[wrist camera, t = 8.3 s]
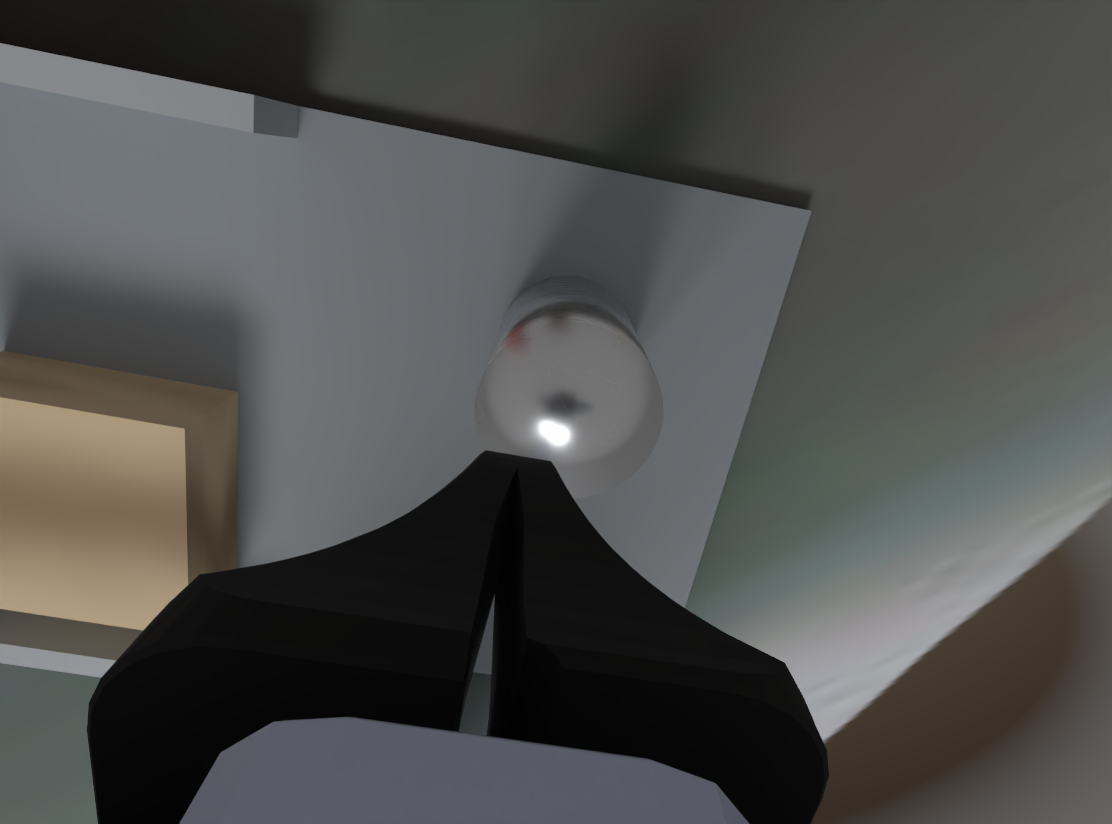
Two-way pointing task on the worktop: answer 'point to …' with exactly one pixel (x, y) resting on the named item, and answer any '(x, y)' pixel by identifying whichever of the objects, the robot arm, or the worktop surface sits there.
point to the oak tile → (111, 489)
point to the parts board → (359, 302)
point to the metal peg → (570, 386)
